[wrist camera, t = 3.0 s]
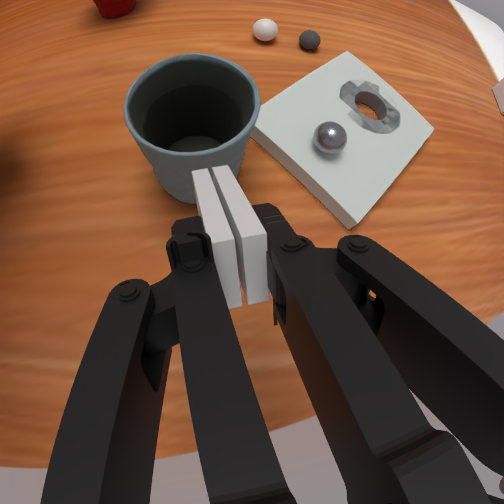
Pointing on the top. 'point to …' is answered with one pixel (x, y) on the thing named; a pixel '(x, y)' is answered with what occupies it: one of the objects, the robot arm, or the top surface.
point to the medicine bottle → (499, 95)
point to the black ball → (309, 39)
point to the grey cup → (192, 117)
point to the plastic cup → (114, 7)
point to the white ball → (265, 29)
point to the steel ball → (330, 137)
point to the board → (357, 129)
